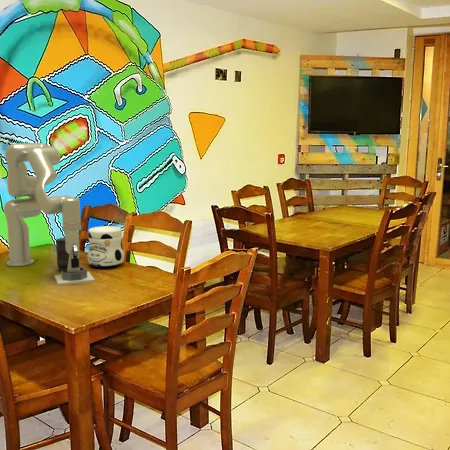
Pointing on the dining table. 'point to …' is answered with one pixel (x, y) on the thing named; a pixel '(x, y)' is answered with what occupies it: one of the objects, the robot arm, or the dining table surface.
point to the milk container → (105, 246)
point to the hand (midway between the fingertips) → (73, 265)
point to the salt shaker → (71, 267)
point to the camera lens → (61, 254)
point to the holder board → (66, 282)
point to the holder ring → (74, 274)
